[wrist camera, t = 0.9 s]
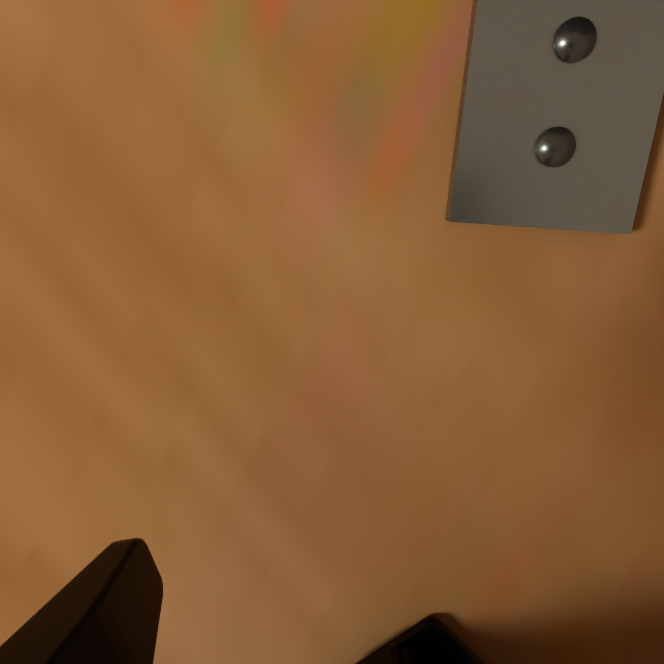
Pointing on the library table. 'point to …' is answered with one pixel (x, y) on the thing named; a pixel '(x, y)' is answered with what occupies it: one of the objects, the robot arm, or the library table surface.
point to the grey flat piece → (557, 113)
